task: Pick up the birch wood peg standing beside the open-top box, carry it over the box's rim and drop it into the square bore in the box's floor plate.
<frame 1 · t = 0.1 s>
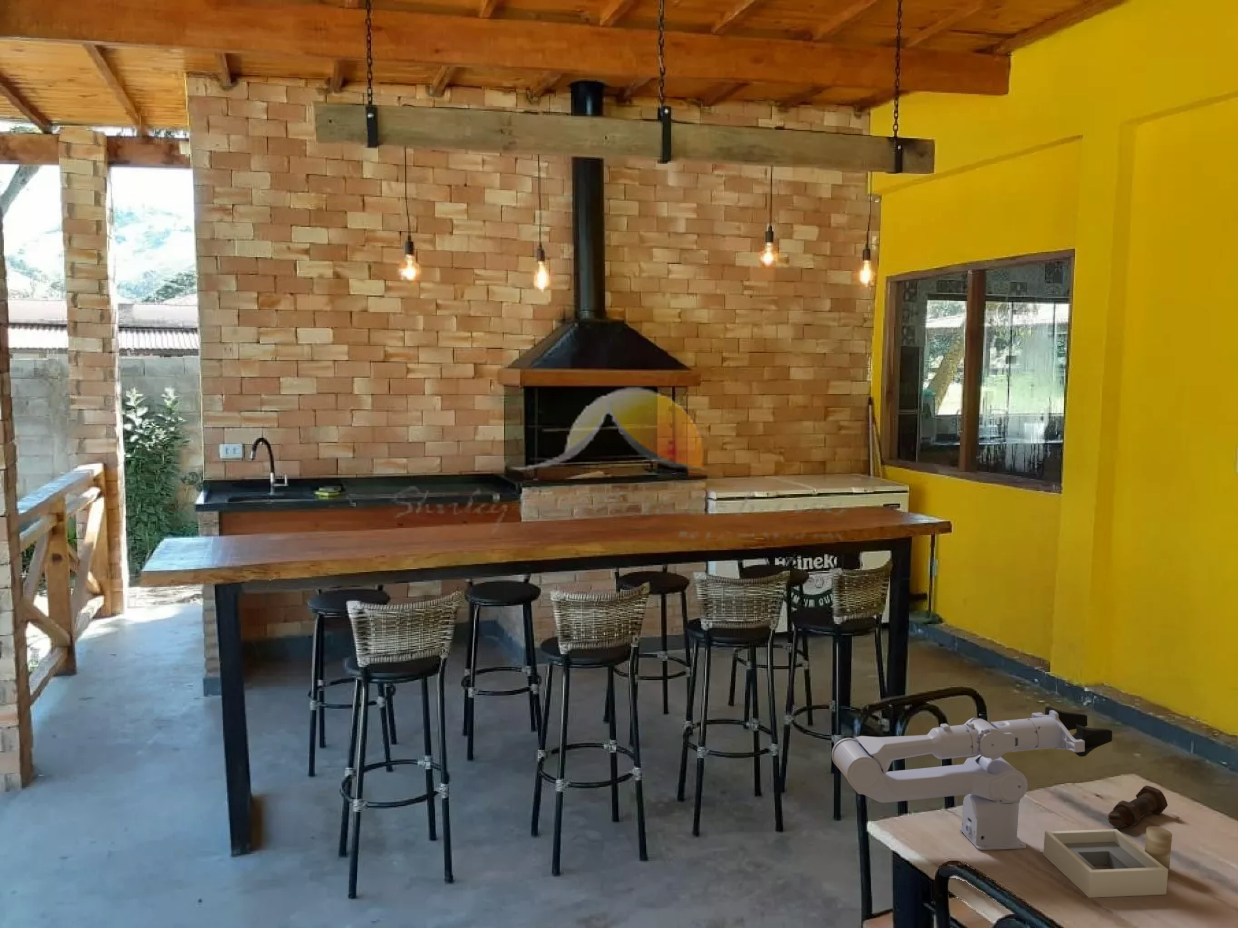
hand: (1098, 727, 175), 22 cm above the table, tool horizontal, fingers open, 7 cm apart
box: (1102, 873, 163), on the table
peg: (1156, 868, 165), on the table
bolt: (1133, 821, 184), on the table
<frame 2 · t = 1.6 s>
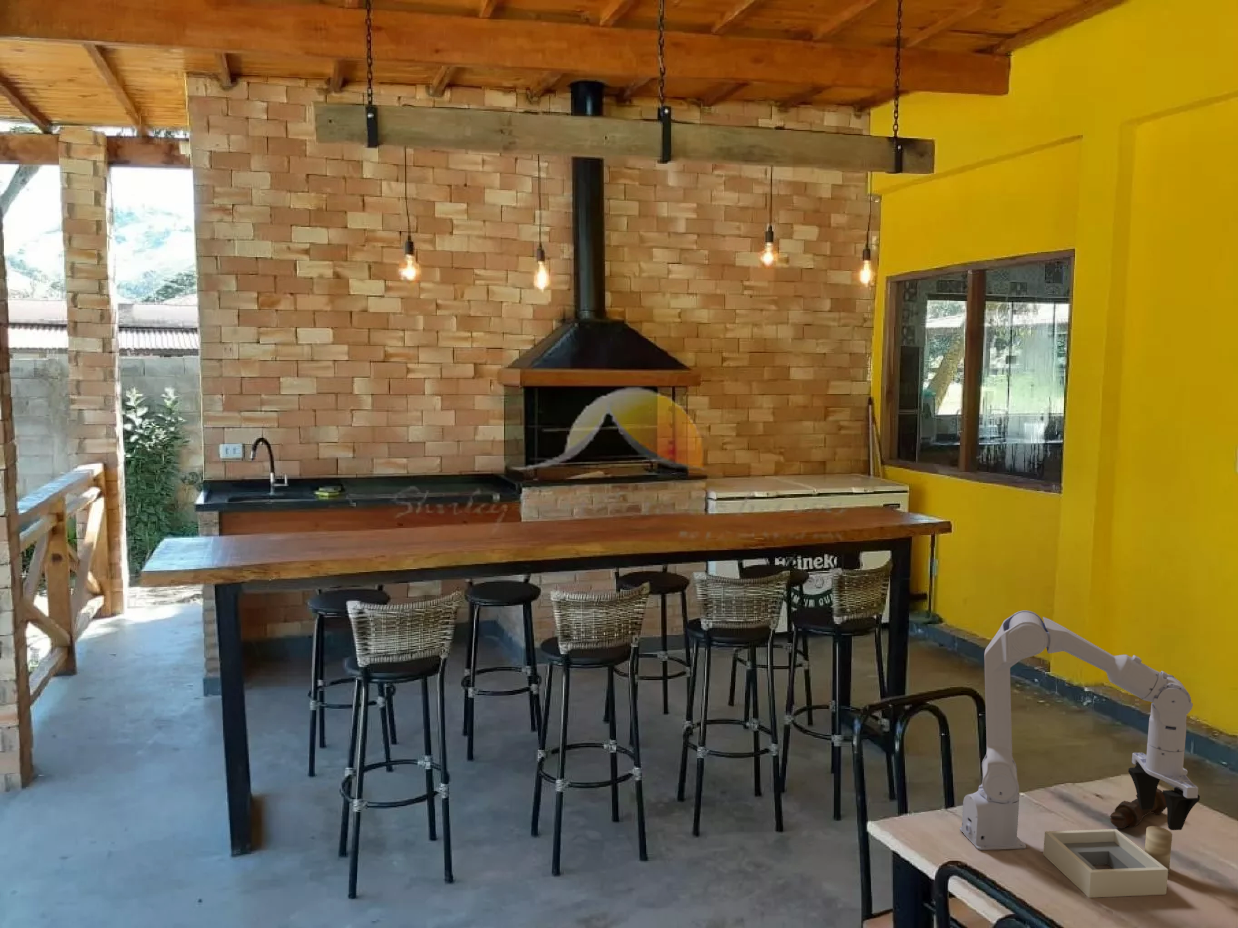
hand: (1160, 818, 164), 9 cm above the table, tool pointing down, fingers open, 7 cm apart
nothing on the table moved.
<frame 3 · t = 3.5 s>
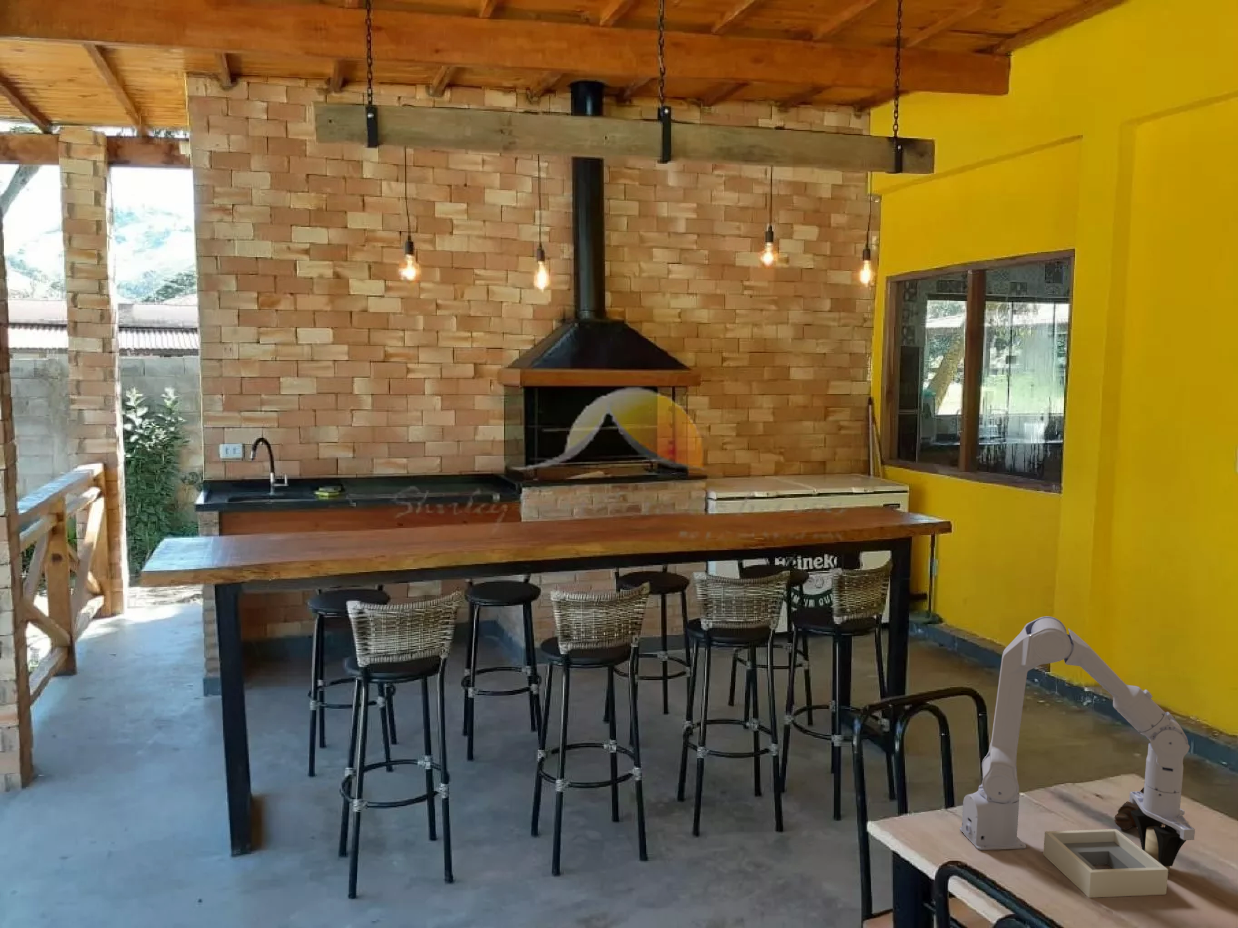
hand: (1157, 858, 165), 2 cm above the table, tool pointing down, fingers closed on peg, 4 cm apart
peg: (1156, 868, 165), on the table, touching gripper
everything else where it was.
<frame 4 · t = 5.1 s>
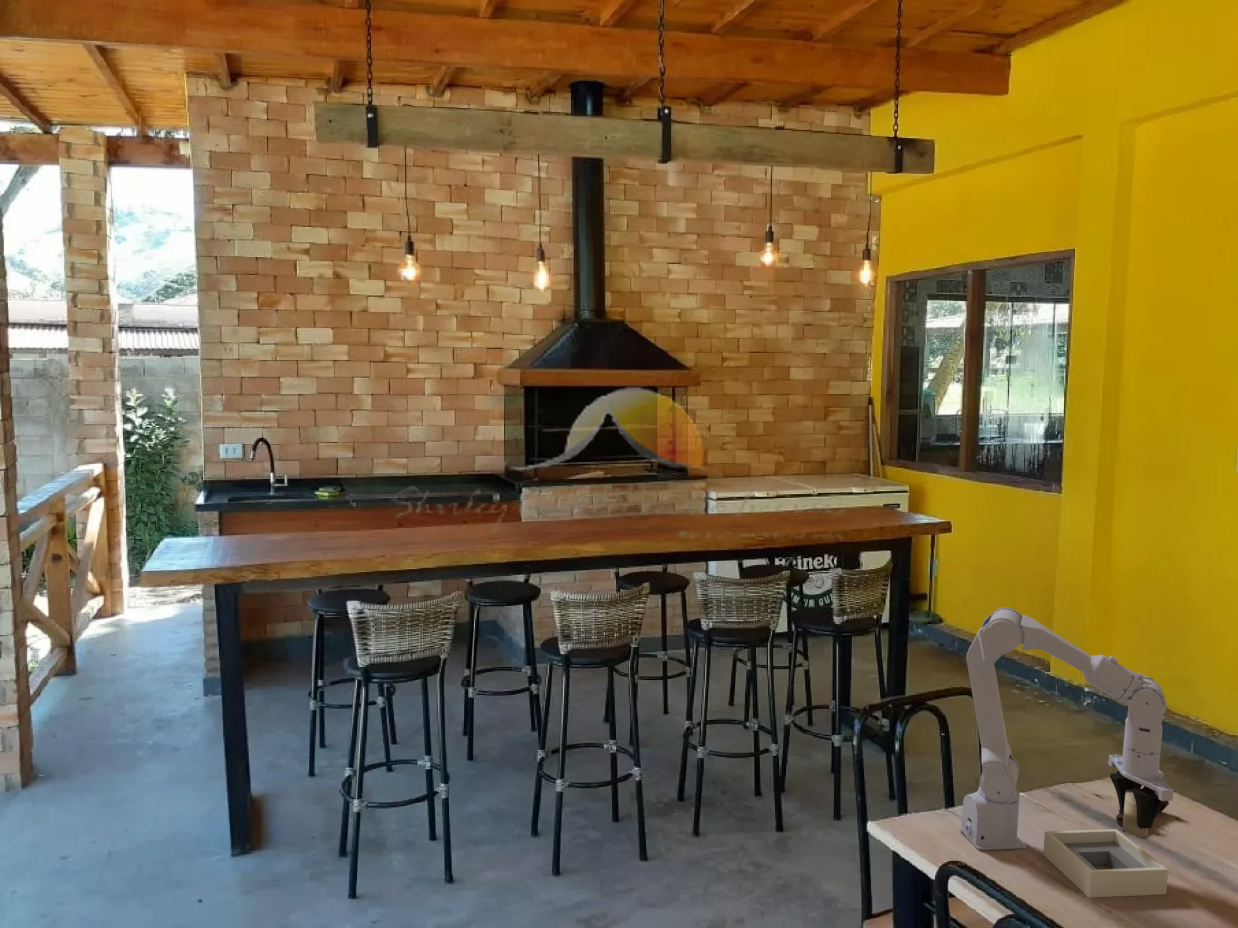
hand: (1135, 821, 164), 9 cm above the table, tool pointing down, fingers closed on peg, 4 cm apart
peg: (1135, 831, 164), point 7 cm above the table, touching gripper
everything else where it was.
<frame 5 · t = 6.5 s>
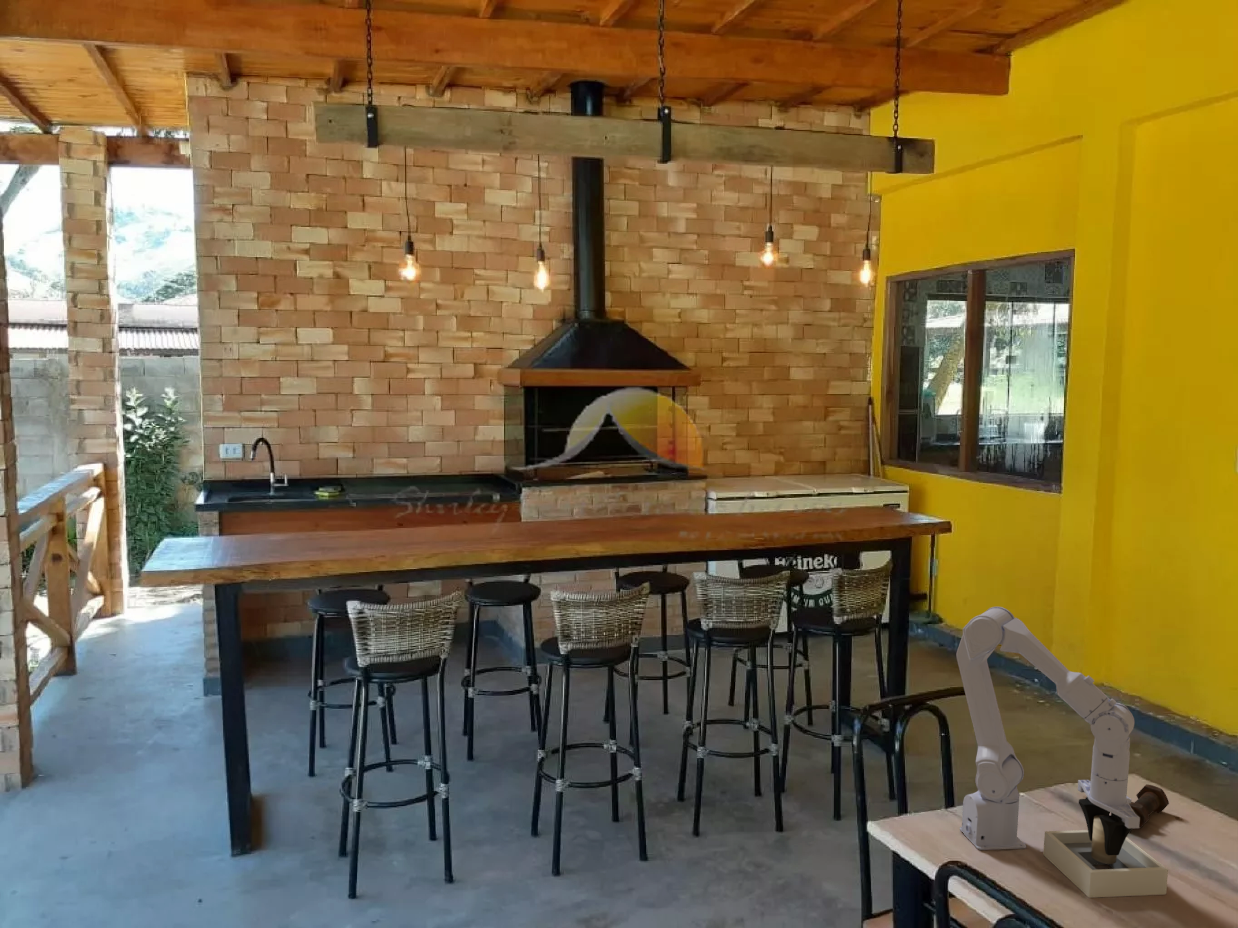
hand: (1104, 847, 163), 5 cm above the table, tool pointing down, fingers closed on peg, 4 cm apart
peg: (1103, 857, 163), point 3 cm above the table, touching gripper
when the fingers open (5 cm above the table, at t = 7.2 s): peg drops 3 cm, resting in box.
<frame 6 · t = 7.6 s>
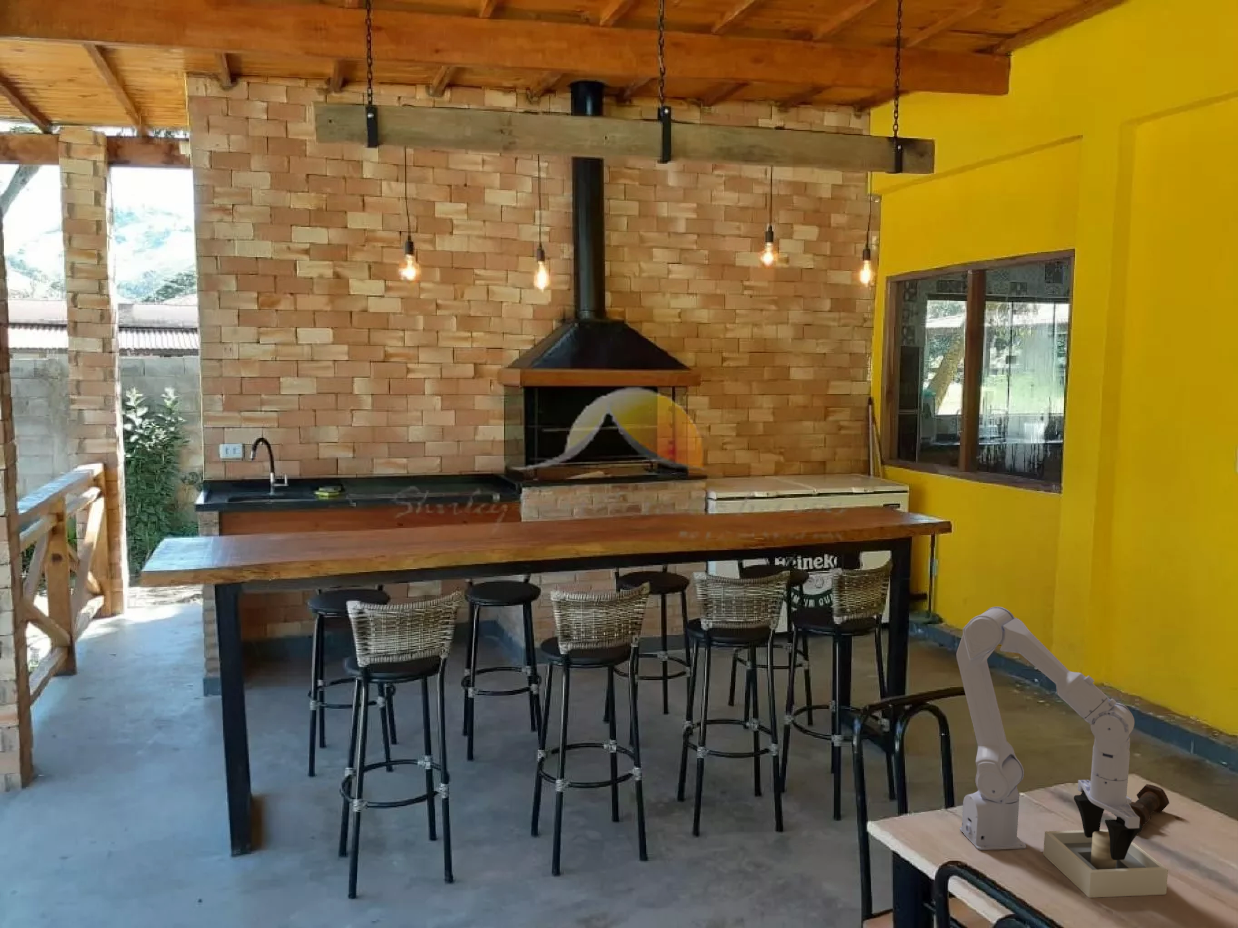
hand: (1104, 847, 163), 5 cm above the table, tool pointing down, fingers open, 7 cm apart
peg: (1102, 874, 163), resting in box
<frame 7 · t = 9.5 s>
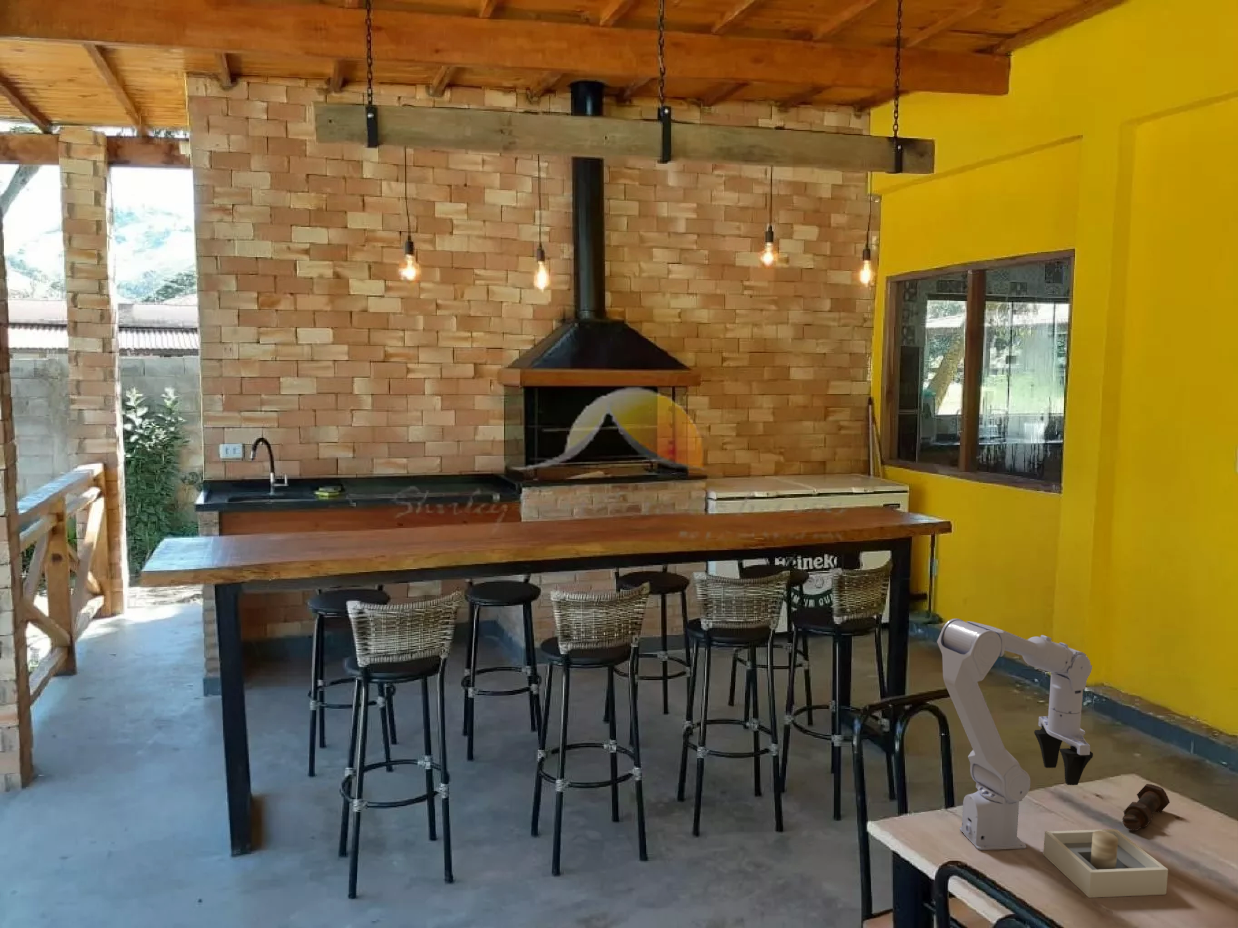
hand: (1060, 775, 180), 10 cm above the table, tool pointing down, fingers open, 7 cm apart
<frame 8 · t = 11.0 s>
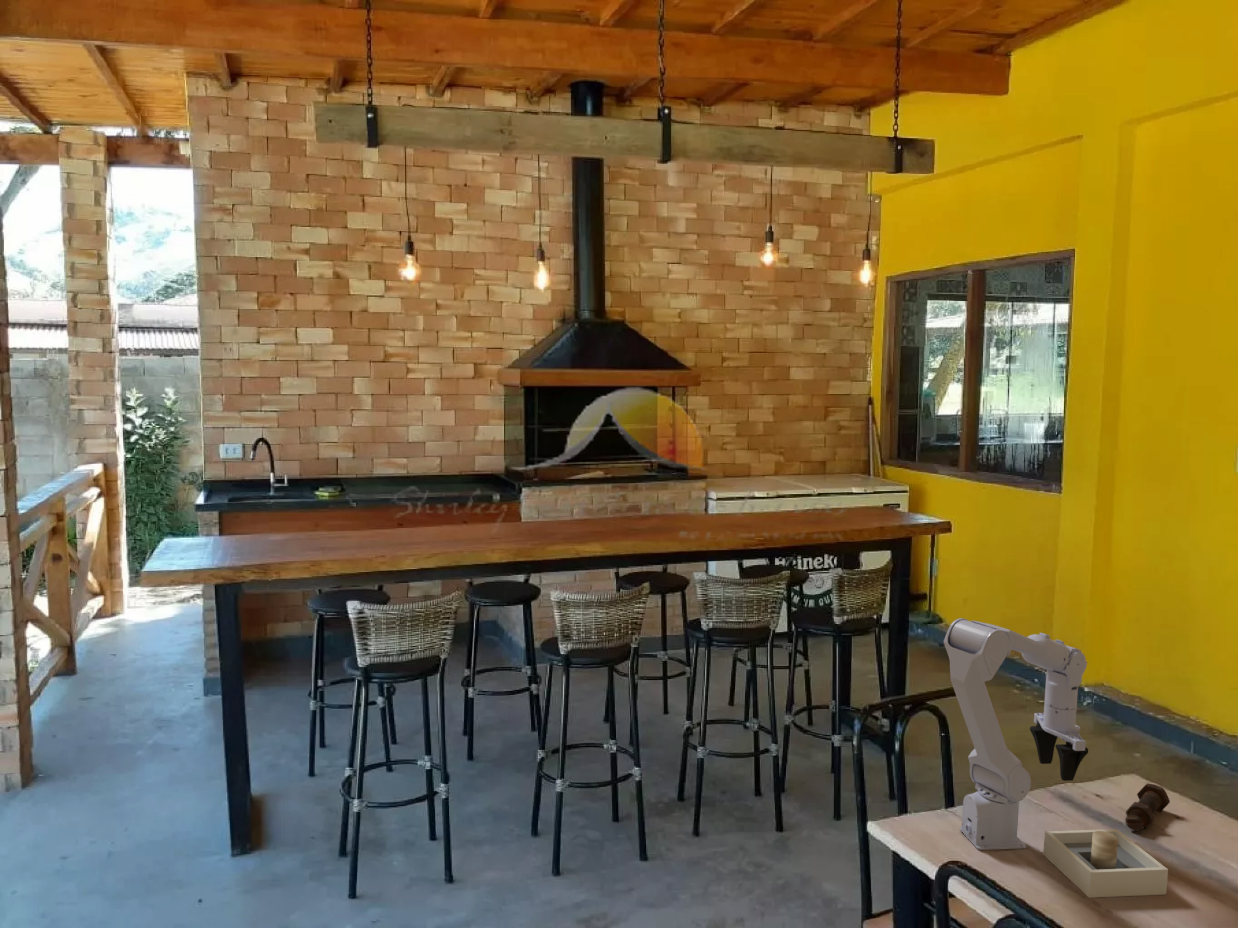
hand: (1056, 771, 181), 10 cm above the table, tool pointing down, fingers open, 7 cm apart
at the end: peg 0.0 cm off-centre on the box, point 0.0 cm above the box's base; peg tilted 0°; the gripper is holding nothing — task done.
